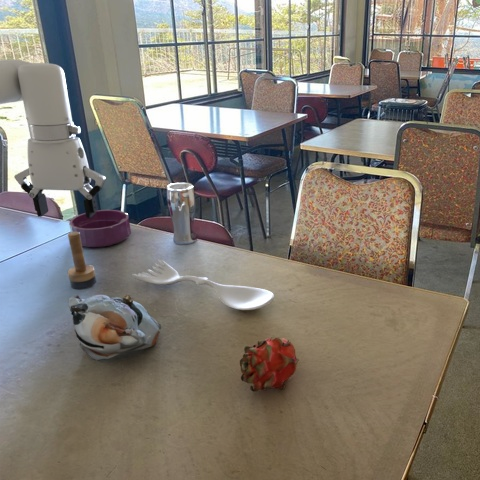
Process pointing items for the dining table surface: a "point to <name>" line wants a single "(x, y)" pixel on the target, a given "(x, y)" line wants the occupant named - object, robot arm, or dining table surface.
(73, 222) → the bowl
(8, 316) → the dining table surface
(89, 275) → the dish brush
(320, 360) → the dining table surface
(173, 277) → the spoon
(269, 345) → the dragon fruit
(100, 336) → the lucky cat figurine
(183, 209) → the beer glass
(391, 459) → the dining table surface
